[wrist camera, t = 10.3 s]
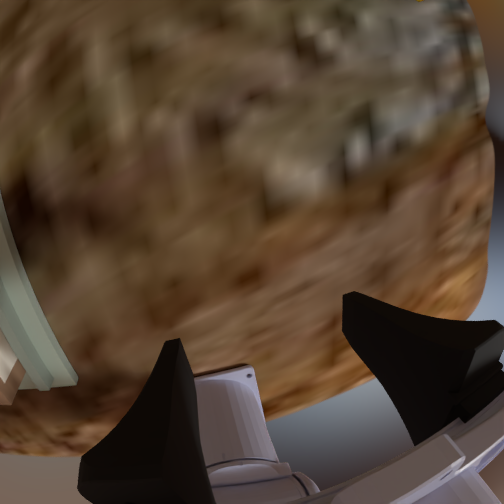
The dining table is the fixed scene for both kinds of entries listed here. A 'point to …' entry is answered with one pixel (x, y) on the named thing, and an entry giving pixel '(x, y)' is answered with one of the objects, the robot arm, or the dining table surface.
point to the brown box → (9, 372)
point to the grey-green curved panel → (28, 322)
